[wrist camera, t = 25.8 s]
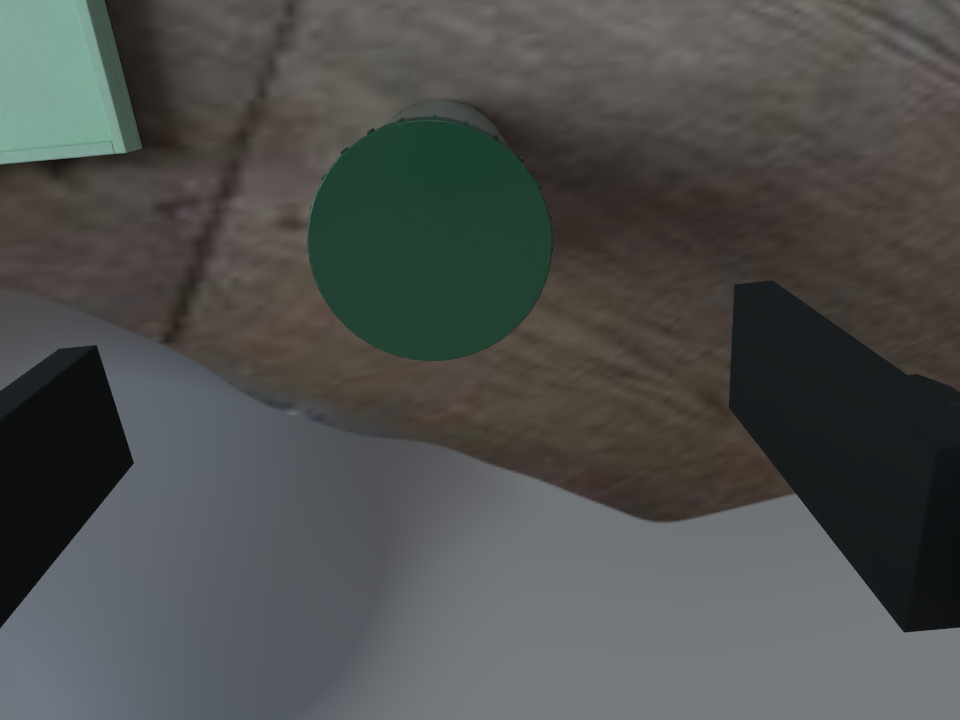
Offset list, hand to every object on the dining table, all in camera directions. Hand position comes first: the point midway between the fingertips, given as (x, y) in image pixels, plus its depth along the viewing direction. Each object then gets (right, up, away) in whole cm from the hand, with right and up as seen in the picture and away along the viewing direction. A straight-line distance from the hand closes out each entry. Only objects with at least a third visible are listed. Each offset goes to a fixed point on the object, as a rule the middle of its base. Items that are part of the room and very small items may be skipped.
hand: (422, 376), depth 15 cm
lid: (-1, +4, +10) cm, 11 cm away
